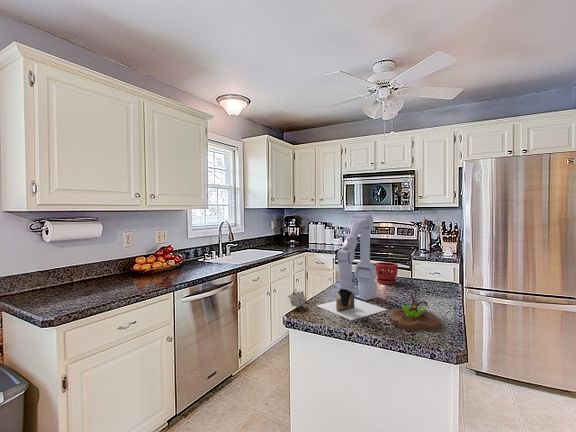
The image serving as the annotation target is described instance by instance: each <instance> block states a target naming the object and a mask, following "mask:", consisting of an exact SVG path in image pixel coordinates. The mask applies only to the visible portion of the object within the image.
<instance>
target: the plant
mask: <svg viewBox="0 0 576 432" xmlns="http://www.w3.org/2000/svg"><path fill="white" fill-rule="evenodd" d="M409 298H411V305H409V304H406V306H405V305H402V304H401V305H400V306H401V308H395V309H394V308H393V309H390V311H389V323H391V324H392V325H393V326H397V327H398V328H399V329H401V330H407V331H432V332H433V331H437V330H440V329H443V323H442V322H441V321H442V320H441V318H439V317H438V316H436V315H435V314H434V313H433V312H430V311H428V310H427V307H428V306H429V303H428V302H427V301H425V300H424V301H419V302H418V303H417V304H416V302H415V299H414V298H415V297H414V294H413V293H410V294H409ZM421 304H424V305H425V307H422V308H420V305H421Z"/></svg>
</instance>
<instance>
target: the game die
mask: <svg viewBox="0 0 576 432" xmlns="http://www.w3.org/2000/svg"><path fill="white" fill-rule="evenodd" d="M304 293H305V292H304V290H302V291H299V290H297V288H295V289H294V291H292V293H291V294H290V295H287V297H288V298H289V300H290V304H291V307H297V308H298V310H300V309H301V306H303V304H305V303H307V302H309V301H308V300H306V299H307V298H306V297H305V294H304Z"/></svg>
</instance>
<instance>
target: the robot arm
mask: <svg viewBox="0 0 576 432" xmlns="http://www.w3.org/2000/svg"><path fill="white" fill-rule="evenodd" d="M350 224H351V225H350V226H351V228H350V232H349V235H348V236H346V237H345V239H344V241H343V244H342V245H341V246H342V247H341V248H339V250H338V251H337V252H336V260H337V266H338V282H336V281H335V282H333V283H332V288H337V289H339V290H338V291H337V294H338V293H339V294H340V297H341V299H342V303H343V306H344V307H345V306H348V302H349V299H350V296H351V294H352V293H354V298H358V299H361V300H364V301H369V300H372V299H373V300H374V299H377V298H379V295H378V284H377V283H378V282H377V278H376V277H377V275H376V264H373V262H372V261H371V231H372V230H374V217H373V215H372V214H371V213H368V214H367V213H366V214H363V213H362V214H361V213H359V214H358V213H357V214H356V213H353V214H352V215H351V216H350ZM359 236H360V237H359ZM358 237H359V239H360V242H359V246H360V247H359V248H360V250H359V251H360V255H359V257H360V259H359V262H358V263H357V264H356V265H355V271H354V277H355V278H356V280H357V281H358V283H357V284H358V286H357V287H358V288H357V287H355V286H353V262H354V260H355V255H356V253H355V251H356V247H357V245H358V240H357V239H358Z"/></svg>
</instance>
